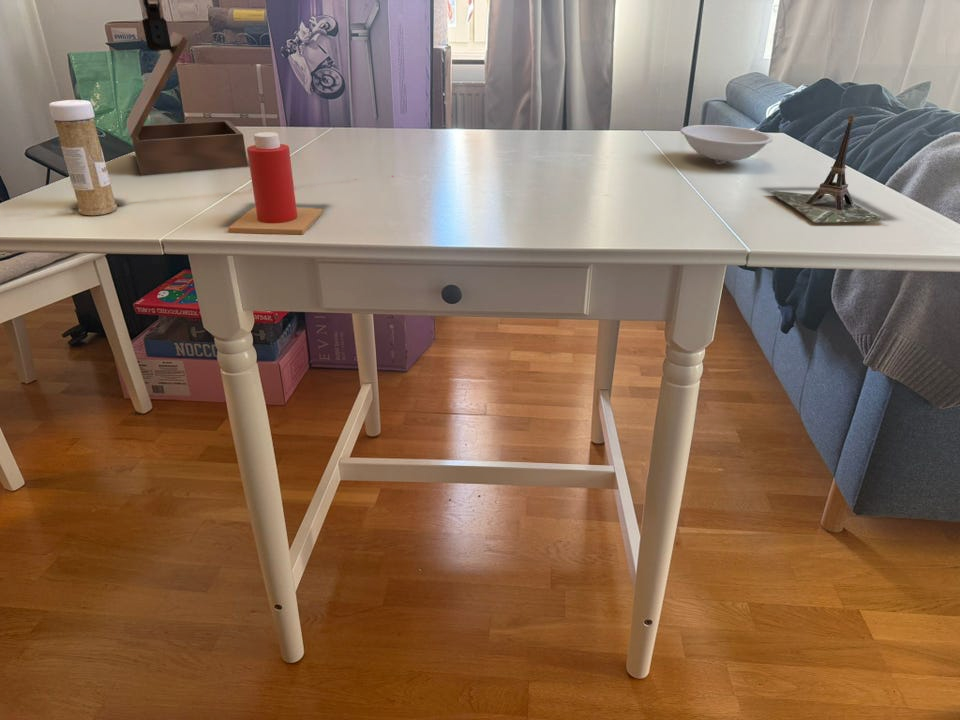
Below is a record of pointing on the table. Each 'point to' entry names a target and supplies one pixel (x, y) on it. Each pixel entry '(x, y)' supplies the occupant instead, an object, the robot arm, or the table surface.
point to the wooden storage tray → (189, 147)
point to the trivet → (295, 226)
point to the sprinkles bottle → (83, 156)
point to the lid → (155, 84)
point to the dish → (725, 141)
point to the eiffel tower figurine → (831, 205)
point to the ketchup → (272, 179)
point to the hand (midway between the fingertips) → (159, 49)
